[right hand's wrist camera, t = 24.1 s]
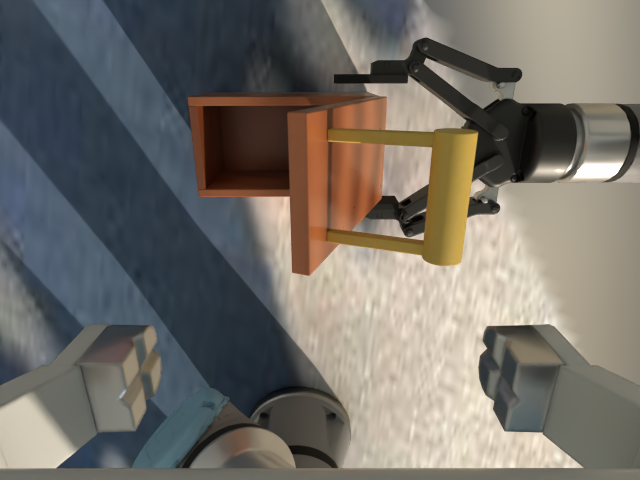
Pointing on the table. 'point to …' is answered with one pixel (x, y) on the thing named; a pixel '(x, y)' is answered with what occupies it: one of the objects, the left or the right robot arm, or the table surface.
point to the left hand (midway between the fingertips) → (333, 144)
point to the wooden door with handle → (370, 182)
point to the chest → (248, 139)
